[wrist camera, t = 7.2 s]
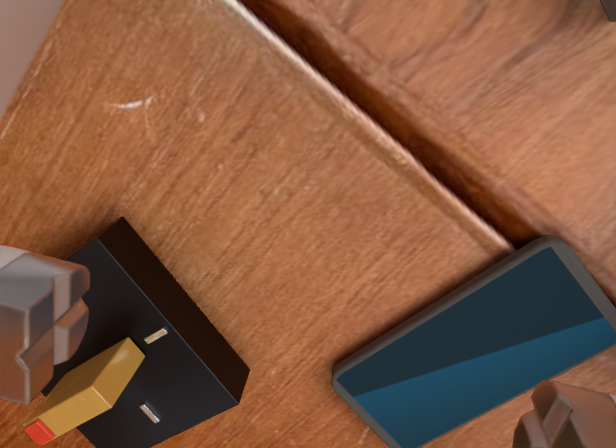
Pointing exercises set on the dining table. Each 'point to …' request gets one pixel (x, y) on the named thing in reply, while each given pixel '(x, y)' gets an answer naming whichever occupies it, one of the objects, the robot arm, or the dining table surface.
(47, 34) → the dining table surface
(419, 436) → the smartphone
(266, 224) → the dining table surface
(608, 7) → the grey button base
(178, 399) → the plate
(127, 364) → the thumb turn
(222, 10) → the dining table surface
